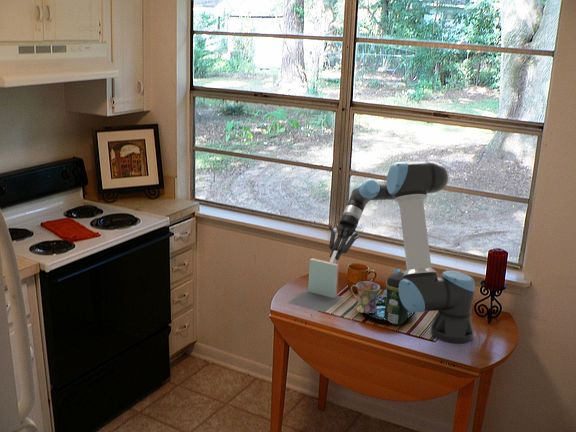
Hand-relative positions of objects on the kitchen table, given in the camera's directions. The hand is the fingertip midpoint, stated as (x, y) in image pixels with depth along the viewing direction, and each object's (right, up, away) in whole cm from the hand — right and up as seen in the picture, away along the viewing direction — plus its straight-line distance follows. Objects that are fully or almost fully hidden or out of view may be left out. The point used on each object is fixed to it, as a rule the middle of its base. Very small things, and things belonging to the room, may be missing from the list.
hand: (331, 265), depth 271 cm
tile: (-4, -11, -4) cm, 13 cm away
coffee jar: (+23, -19, -23) cm, 38 cm away
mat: (-7, -14, -10) cm, 18 cm away
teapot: (+30, -13, -2) cm, 33 cm away
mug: (+11, -16, -16) cm, 25 cm away
